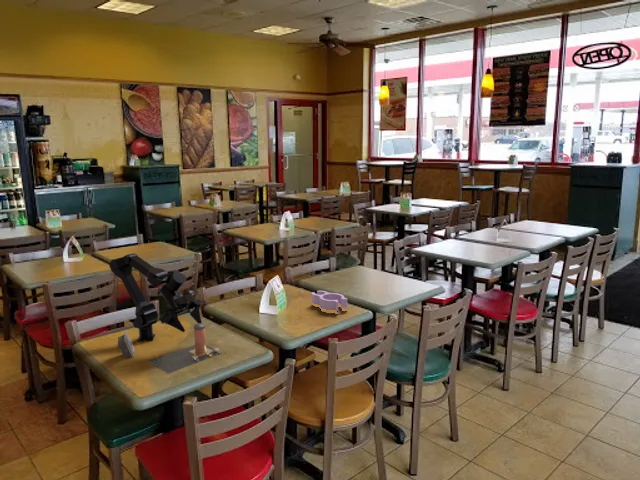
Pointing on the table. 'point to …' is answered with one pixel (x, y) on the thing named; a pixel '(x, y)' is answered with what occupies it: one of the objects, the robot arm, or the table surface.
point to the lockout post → (200, 338)
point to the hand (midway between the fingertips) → (192, 327)
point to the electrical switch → (126, 345)
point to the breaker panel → (183, 358)
